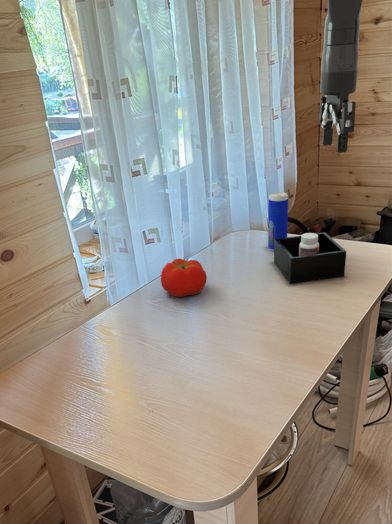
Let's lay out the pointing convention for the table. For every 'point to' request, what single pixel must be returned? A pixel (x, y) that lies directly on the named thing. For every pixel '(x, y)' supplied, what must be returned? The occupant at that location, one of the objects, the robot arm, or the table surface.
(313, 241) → the pill bottle
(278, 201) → the blue cylindrical container
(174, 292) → the tomato
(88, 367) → the table surface
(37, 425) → the table surface
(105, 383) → the table surface
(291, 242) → the black storage bin
